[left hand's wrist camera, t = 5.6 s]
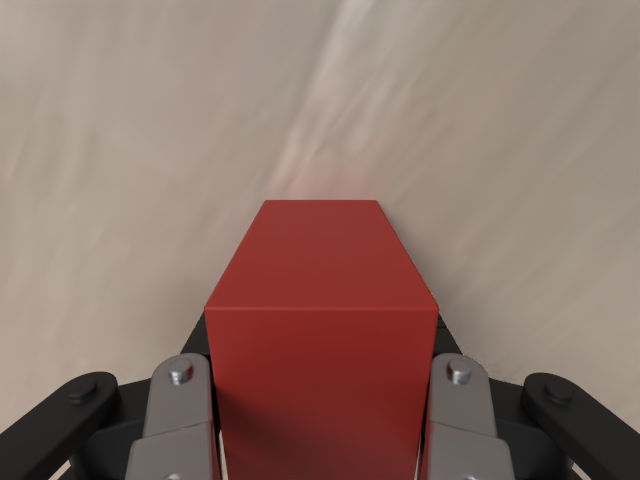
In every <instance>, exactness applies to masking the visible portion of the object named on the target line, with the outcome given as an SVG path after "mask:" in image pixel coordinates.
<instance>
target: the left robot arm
mask: <svg viewBox="0 0 640 480" xmlns="http://www.w3.org/2000/svg"><path fill="white" fill-rule="evenodd" d="M220 430H221V425H220V418H219V411H218V404H217V397H216V390H215V383H214V376H213V369H212V362H211V355H210V348H209V341H208V334H207V327H206V320H205V313H204V312H203V314H202V315H201V317H200V320H199V321H198V322H197V324H196V326H195V328H194V330H193V331H192V333H191V335H190V337H189V339H188V340H187V342H186V344H185V346H184V347H183V349H182V351H181V353H180V354H179V355H176V356H173V357H171V358H169V359H167V360H165V361H164V362H162V363H161V364H160V365H159V366H158V367H157V368H156V369H155V371H154V372H153V375H152V378H149V379H146V380H142V381H138V382H133V383H129V384H125V385H120V386H118V383H117V380H116V377H115V376H114V375H113V374H111V373H108V372H92V373H88V374H84V375H81V376H79V377H76V378H74V379H72V380H70V381H69V382H67V383H65V384H64V385H63V386H61V387H60V388H59V389H57V390H56V391H55V392H54V393H52V394H51V395H50V396H48V397H47V398H46V399H45V400H43V401H42V402H41V403H39V404H38V405H37V406H36V407H34V408H33V409H32V410H31V411H29V412H28V413H27V414H25V415H24V416H23V417H22V418H20V419H19V420H18V421H16V422H15V423H14V424H13V425H11V426H10V427H9V428H8V429H6V430H5V431H4V432H2V433H1V434H0V480H48V479H49V478H50V477H51V476H52V475H53V474H54V473H55V472H56V471H57V470H58V469H59V468H60V467H61V466H62V465H63V464H64V463H65V462H66V461H67V460H69V462H70V465H71V466H70V467H69V468H68V469H67V470H66V471H65V472H64V473H63V474H62V475H61V477H60V478H59V479H58V480H223V470H222V457H221V444H220V435H219V433H220ZM574 462H575V463H576V464H577V465H578V466H579V467H580V468H581V469H582V470H583V471H584V472H585V473H586V474H587V475H588V476H589V477H590V478H591V479H592V480H640V434H639V433H638V432H636V431H635V430H634V429H632V428H631V427H630V426H629V425H627V424H626V423H625V422H624V421H622V420H621V419H620V418H618V417H617V416H616V415H615V414H613V413H612V412H611V411H609V410H608V409H607V408H606V407H604V406H603V405H602V404H601V403H599V402H598V401H597V400H595V399H594V398H593V397H592V396H590V395H589V394H588V393H587V392H585V391H584V390H583V389H581V388H580V387H579V386H577V385H576V384H574V383H573V382H571V381H569V380H567V379H565V378H562V377H560V376H557V375H554V374H549V373H533V374H530V375H529V376H527V377H526V379H525V381H524V385H523V386H520V385H516V384H511V383H507V382H503V381H499V380H495V379H492V378H489V377H488V375H487V372H486V371H485V369H484V368H483V367H482V366H481V365H480V364H479V363H478V362H476V361H475V360H473V359H471V358H469V357H467V356H464V355H463V354H462V352H461V351H460V349H459V347H458V345H457V344H456V342H455V340H454V338H453V337H452V335H451V333H450V331H449V330H448V329H447V326H446V324H445V323H444V321H443V320H442V317H441V316H440V314H438V321H437V328H436V335H435V341H434V348H433V355H432V362H431V369H430V375H429V382H428V389H427V396H426V403H425V409H424V416H423V423H422V430H421V437H420V444H419V457H418V470H417V480H582V479H581V478H580V477H579V475H578V474H577V473H576V472H575V471H574V470H573V469H572V467H573V464H574Z"/></svg>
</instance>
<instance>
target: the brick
mask: <svg viewBox="0 0 640 480" xmlns="http://www.w3.org/2000/svg"><path fill="white" fill-rule="evenodd" d="M204 313H205V320H206V327H207V334H208V341H209V348H210V355H211V362H212V369H213V376H214V383H215V390H216V397H217V404H218V411H219V418H220V425H221V432H222V439H223V446H224V453H225V460H226V467H227V474H228V480H414V477H415V471H416V464H417V457H418V450H419V443H420V437H421V430H422V423H423V416H424V409H425V403H426V396H427V389H428V382H429V375H430V369H431V362H432V355H433V348H434V341H435V335H436V328H437V321H438V314H439V306H438V305H437V303H436V301H435V299H434V298H433V296H432V294H431V293H430V291H429V289H428V288H427V286H426V284H425V282H424V281H423V279H422V277H421V276H420V274H419V272H418V271H417V269H416V267H415V265H414V264H413V262H412V260H411V259H410V257H409V255H408V254H407V252H406V250H405V248H404V247H403V245H402V243H401V242H400V240H399V238H398V237H397V235H396V233H395V231H394V230H393V228H392V226H391V225H390V223H389V221H388V220H387V218H386V216H385V214H384V213H383V211H382V209H381V208H380V206H379V204H378V203H377V201H375V200H266V201H265V202H264V203H263V205H262V207H261V209H260V210H259V212H258V214H257V216H256V217H255V219H254V221H253V223H252V224H251V226H250V228H249V230H248V231H247V233H246V235H245V237H244V238H243V240H242V242H241V244H240V245H239V247H238V249H237V251H236V252H235V254H234V256H233V258H232V259H231V261H230V263H229V265H228V266H227V268H226V270H225V272H224V273H223V275H222V277H221V279H220V280H219V282H218V284H217V286H216V287H215V289H214V291H213V293H212V294H211V296H210V298H209V300H208V301H207V303H206V305H205V307H204Z"/></svg>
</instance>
